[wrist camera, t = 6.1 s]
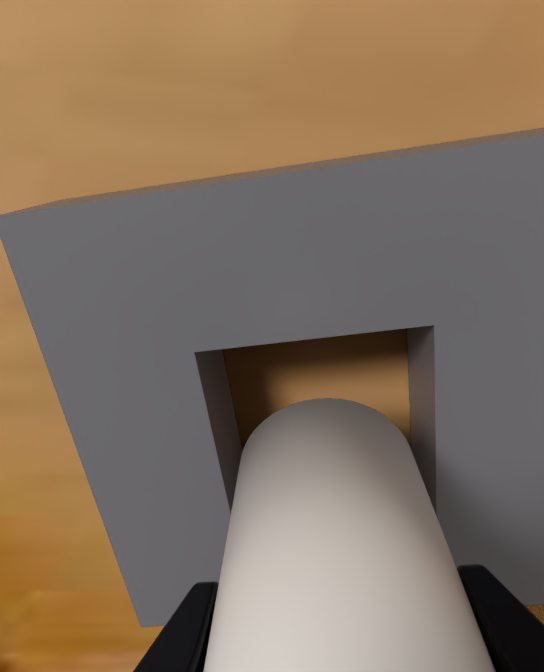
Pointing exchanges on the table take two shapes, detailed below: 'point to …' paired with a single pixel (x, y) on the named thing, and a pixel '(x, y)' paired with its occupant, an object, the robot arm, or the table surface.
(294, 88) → the table surface
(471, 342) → the socket block
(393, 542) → the plug
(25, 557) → the table surface
